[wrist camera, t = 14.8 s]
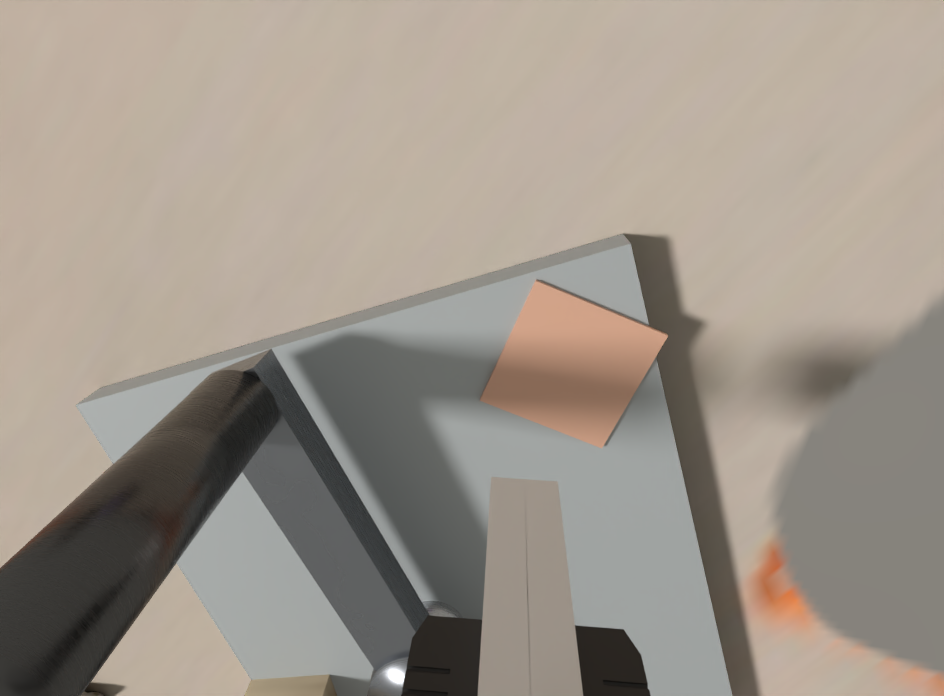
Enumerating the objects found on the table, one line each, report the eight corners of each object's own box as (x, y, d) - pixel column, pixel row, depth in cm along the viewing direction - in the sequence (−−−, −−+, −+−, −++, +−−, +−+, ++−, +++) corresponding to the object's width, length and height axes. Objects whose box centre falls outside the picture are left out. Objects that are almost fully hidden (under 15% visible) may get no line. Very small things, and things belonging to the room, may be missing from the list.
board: (728, 694, 29) (738, 723, 28) (326, 755, 33) (317, 784, 32) (623, 233, 21) (630, 243, 20) (99, 387, 25) (75, 405, 23)
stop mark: (601, 445, 23) (602, 448, 22) (480, 398, 22) (479, 400, 22) (666, 333, 21) (668, 335, 21) (535, 279, 20) (536, 281, 20)
